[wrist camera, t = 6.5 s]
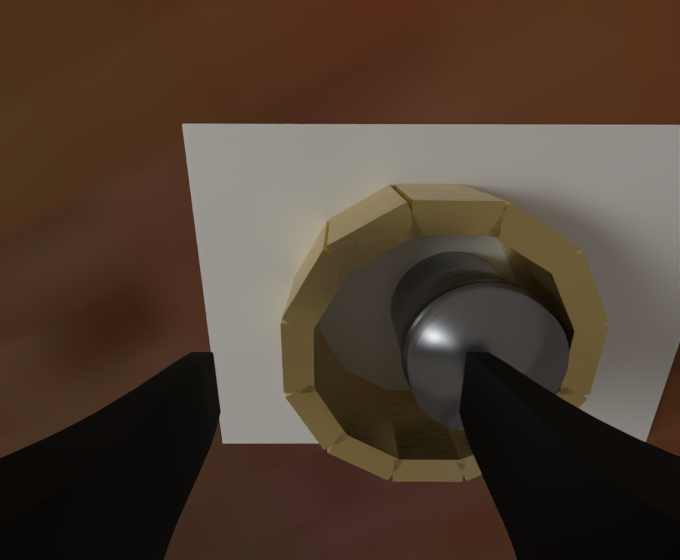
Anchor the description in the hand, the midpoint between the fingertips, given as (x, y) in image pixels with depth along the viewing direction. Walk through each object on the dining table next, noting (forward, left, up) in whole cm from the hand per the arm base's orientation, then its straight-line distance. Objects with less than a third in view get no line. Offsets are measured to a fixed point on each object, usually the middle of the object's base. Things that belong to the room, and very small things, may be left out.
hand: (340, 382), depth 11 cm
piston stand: (-4, 0, -6) cm, 8 cm away
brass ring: (-3, 0, -5) cm, 6 cm away
